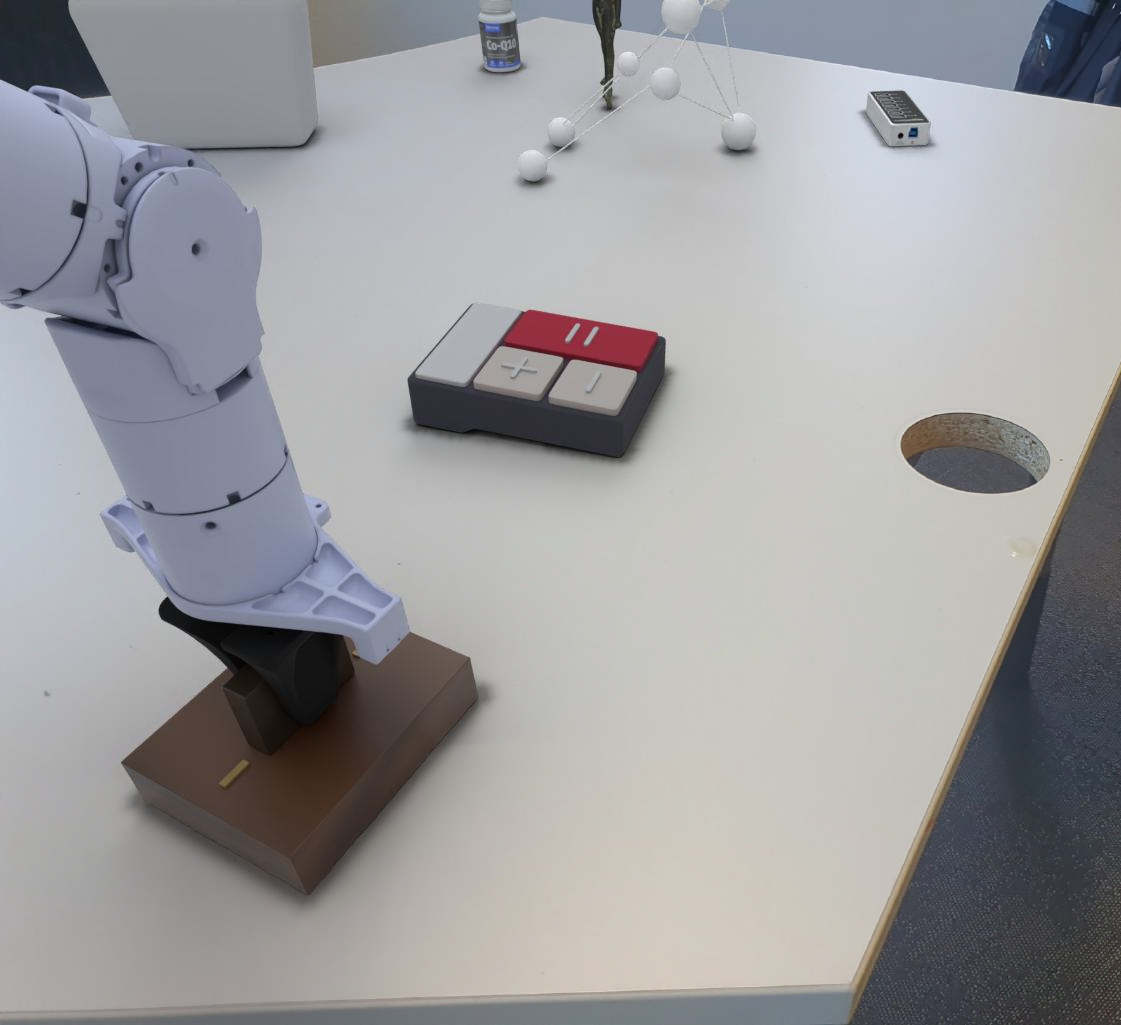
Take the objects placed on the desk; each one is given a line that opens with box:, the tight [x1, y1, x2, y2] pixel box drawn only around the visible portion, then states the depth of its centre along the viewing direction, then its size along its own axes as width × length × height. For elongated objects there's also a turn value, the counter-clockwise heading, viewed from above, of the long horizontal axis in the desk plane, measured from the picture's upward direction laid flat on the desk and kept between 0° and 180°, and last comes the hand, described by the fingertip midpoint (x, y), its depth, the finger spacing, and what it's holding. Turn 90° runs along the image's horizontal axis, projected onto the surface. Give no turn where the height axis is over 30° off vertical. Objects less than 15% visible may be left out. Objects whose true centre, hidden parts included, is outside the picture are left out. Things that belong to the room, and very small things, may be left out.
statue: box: [591, 0, 623, 109], centre depth 111 cm, size 5×6×20 cm
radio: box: [68, 0, 319, 150], centre depth 101 cm, size 22×8×25 cm, turn 93°
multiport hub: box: [865, 89, 932, 147], centre depth 110 cm, size 4×11×2 cm, turn 5°
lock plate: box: [120, 631, 479, 896], centre depth 47 cm, size 12×10×3 cm
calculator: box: [406, 302, 667, 458], centre depth 69 cm, size 11×4×15 cm
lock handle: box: [221, 636, 355, 755], centre depth 44 cm, size 6×1×4 cm, turn 152°
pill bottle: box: [477, 0, 522, 73], centre depth 125 cm, size 5×5×8 cm
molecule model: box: [516, 0, 757, 182], centre depth 99 cm, size 14×25×18 cm, turn 97°
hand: (301, 700), depth 46 cm, fingers closed on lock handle
